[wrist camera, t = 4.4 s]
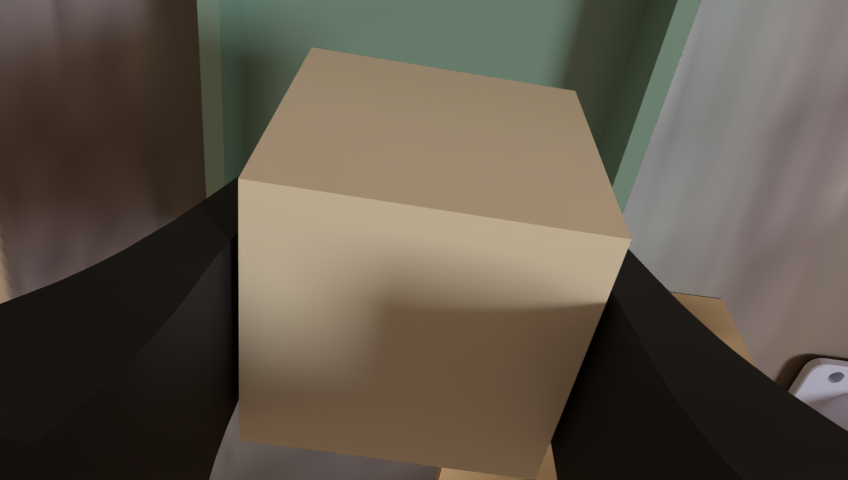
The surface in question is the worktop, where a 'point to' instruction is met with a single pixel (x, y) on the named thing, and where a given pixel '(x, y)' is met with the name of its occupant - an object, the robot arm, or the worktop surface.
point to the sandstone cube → (420, 265)
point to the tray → (446, 60)
